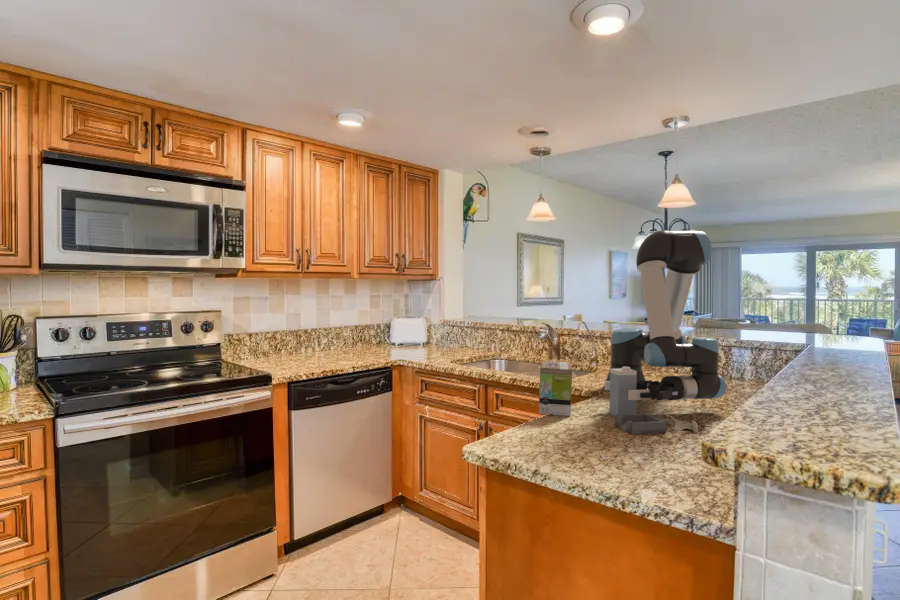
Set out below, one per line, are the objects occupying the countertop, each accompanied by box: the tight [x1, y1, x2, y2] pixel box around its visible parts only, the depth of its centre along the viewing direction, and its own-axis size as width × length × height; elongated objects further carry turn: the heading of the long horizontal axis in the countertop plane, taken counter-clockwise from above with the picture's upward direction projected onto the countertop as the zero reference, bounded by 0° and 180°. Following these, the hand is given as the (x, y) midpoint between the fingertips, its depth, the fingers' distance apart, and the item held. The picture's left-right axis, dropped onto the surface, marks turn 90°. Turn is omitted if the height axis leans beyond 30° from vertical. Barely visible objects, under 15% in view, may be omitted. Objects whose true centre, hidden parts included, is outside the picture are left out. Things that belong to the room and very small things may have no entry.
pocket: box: [614, 413, 667, 435], centre depth 136 cm, size 9×10×3 cm
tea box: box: [538, 361, 573, 417], centre depth 157 cm, size 15×10×15 cm
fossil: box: [662, 412, 699, 434], centre depth 138 cm, size 7×11×3 cm, turn 176°
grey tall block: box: [608, 367, 637, 417], centre depth 151 cm, size 5×6×15 cm
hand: (616, 390), depth 150 cm, fingers open, 13 cm apart
